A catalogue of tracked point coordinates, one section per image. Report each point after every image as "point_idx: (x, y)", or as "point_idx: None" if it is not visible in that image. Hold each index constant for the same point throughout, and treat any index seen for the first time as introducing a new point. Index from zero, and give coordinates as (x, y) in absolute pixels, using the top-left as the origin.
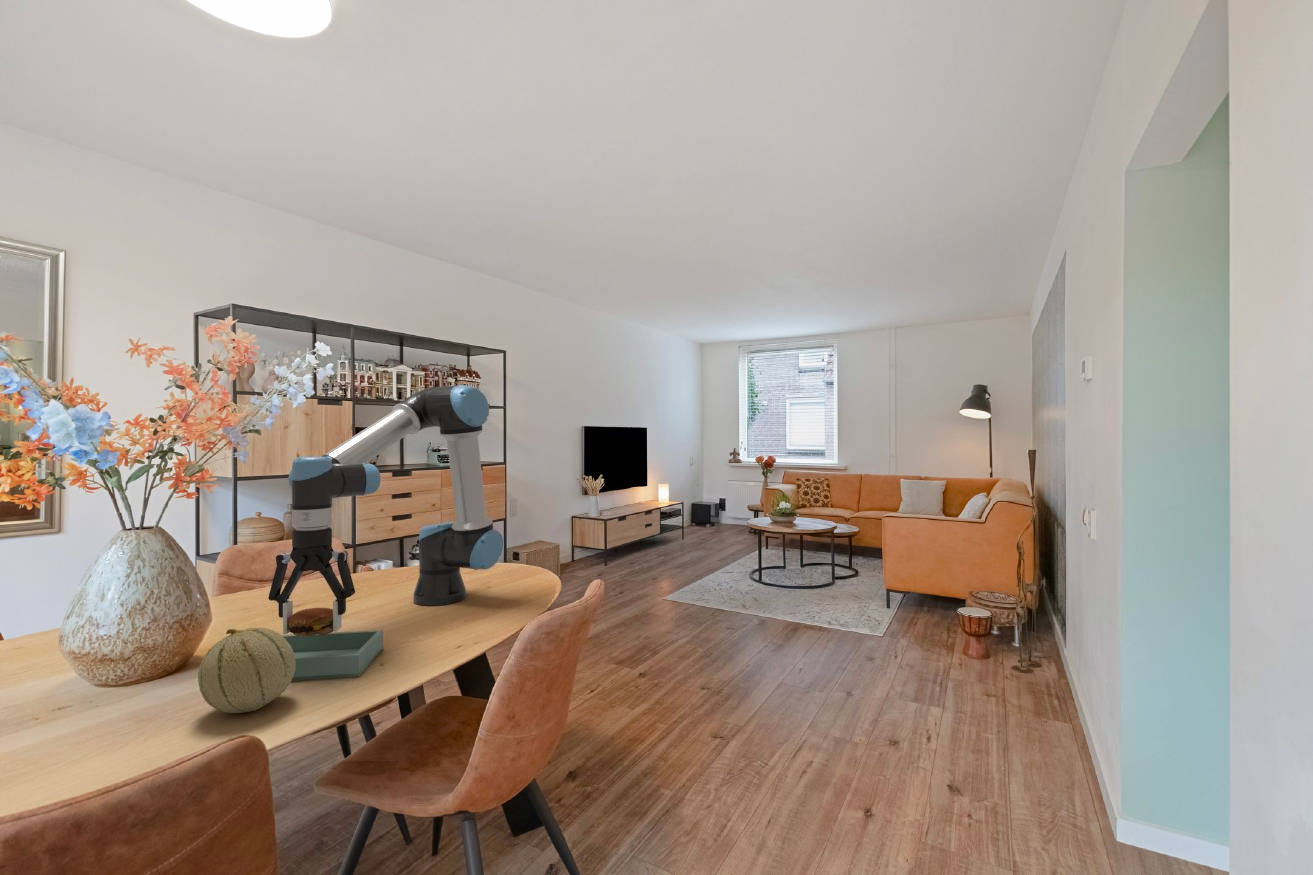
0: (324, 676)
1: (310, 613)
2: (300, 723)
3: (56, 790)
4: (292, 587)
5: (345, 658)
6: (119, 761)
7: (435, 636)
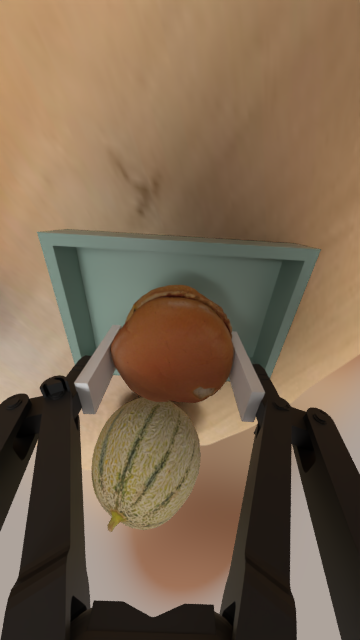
0: None
1: (173, 389)
2: (215, 434)
3: None
4: (77, 461)
5: None
6: None
7: None
